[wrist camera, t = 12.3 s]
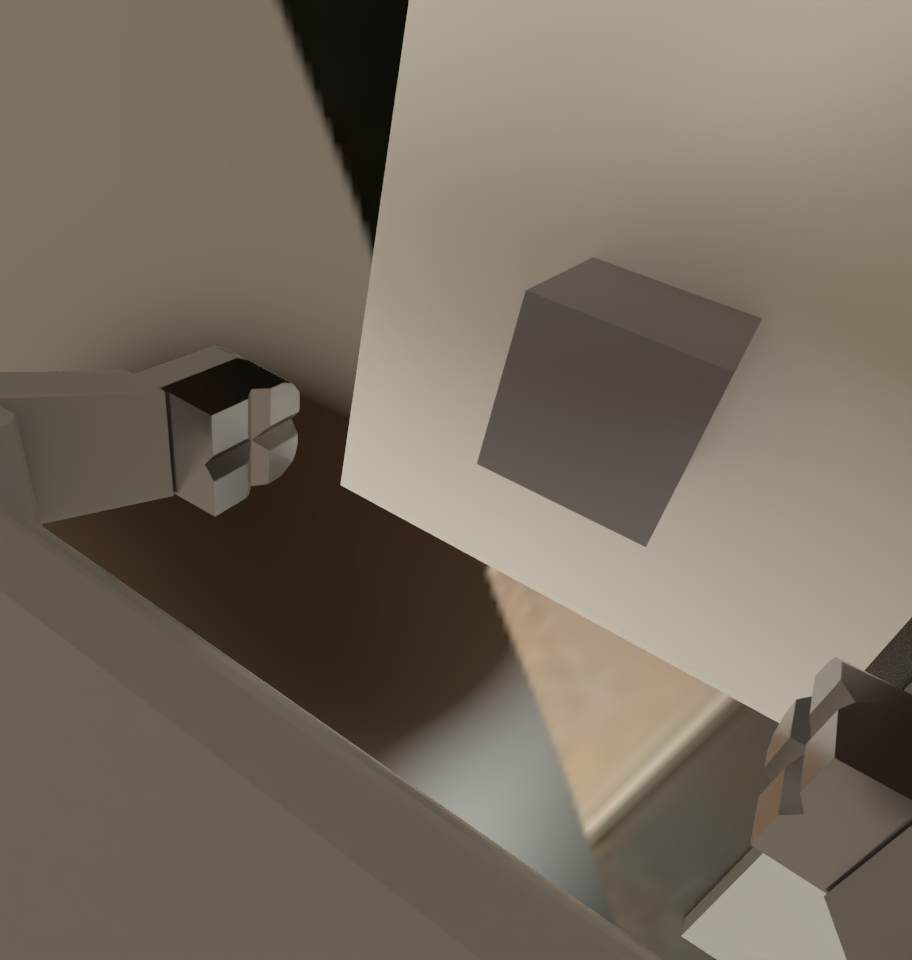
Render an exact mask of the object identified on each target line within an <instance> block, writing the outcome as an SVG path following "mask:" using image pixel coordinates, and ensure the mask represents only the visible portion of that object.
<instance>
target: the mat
mask: <svg viewBox="0 0 912 960" xmlns="http://www.w3.org/2000/svg"><path fill="white" fill-rule="evenodd" d="M904 691H906V692H908V693H910V694H912V682H911V683H910V684H909V685H908V686H907V687H906V688H905V689H904ZM825 895H826V893H825V892H823V891H821V890H820V889H818V888H817V887H815V886H814V885H812V884H811V883H809V882H807V881H806V880H804V879H803V878H801V877H800V876H798V875H797V874H795V873H793V872H792V871H790V870H789V869H787V868H786V867H784V866H783V865H781V864H779V863H778V862H776V861H775V860H773V859H772V858H770V857H769V856H767V855H766V854H764V853H762V852H761V851H759V850H758V849H756V848H755V847H752V849H751V850H750V851H749V852H748V853H747V854H746V855H745V856H744V857H743V858H742V859H741V860H740V861H739V862H738V863H737V864H736V865H735V866H734V867H733V868H732V869H731V870H730V871H729V872H728V873H727V875H726V876H725V877H724V878H723V879H722V880H721V881H720V882H719V883H718V884H717V885H716V886H715V887H714V888H713V889H712V890H711V891H710V892H709V893H708V894H707V895H706V896H705V897H704V898H703V900H702V901H701V902H700V903H699V904H698V905H697V906H696V907H695V908H694V909H693V910H692V911H691V912H690V913H689V914H688V915H687V916H686V917H685V921H684V925H683V930H682V934H681V936H682V937H684V938H685V939H687V940H688V941H690V942H691V943H693V944H694V945H696V946H697V947H699V948H700V949H702V950H703V951H705V952H706V953H708V954H709V955H711V956H712V957H714V958H715V959H717V960H846V957H845V954H844V951H843V948H842V946H841V943H840V940H839V937H838V934H837V932H836V929H835V926H834V923H833V921H832V918H831V915H830V912H829V909H828V907H827V904H826V901H825V898H824V896H825Z"/></svg>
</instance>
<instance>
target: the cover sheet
mask: <svg viewBox="0 0 912 960" xmlns="http://www.w3.org/2000/svg"><path fill="white" fill-rule="evenodd" d="M341 486H343V487H345V488H347V489H349V490H351V491H352V492H354V493H356V494H358V495H360V496H362V497H364V498H366V499H367V500H369V501H371V502H373V503H375V504H377V505H378V506H380V507H382V508H384V509H386V510H388V511H389V512H391V513H393V514H395V515H397V516H399V517H400V518H402V519H404V520H406V521H408V522H410V523H411V524H413V525H415V526H417V527H419V528H421V529H423V530H424V531H426V532H428V533H430V534H432V535H434V536H435V537H437V538H439V539H441V540H443V541H445V542H447V543H449V544H450V545H452V546H454V547H456V548H457V549H460V550H461V551H463V552H465V553H467V554H469V555H470V556H472V557H474V558H476V559H478V560H480V561H481V562H483V563H485V564H487V565H489V566H491V567H492V568H494V569H496V570H498V571H500V572H502V573H504V574H505V575H507V576H509V577H511V578H513V579H515V580H516V581H518V582H520V583H522V584H524V585H526V586H527V587H529V588H531V589H533V590H535V591H537V592H539V593H540V594H542V595H544V596H546V597H548V598H550V599H551V600H553V601H555V602H557V603H559V604H561V605H562V606H564V607H566V608H568V609H570V610H572V611H574V612H575V613H577V614H579V615H581V616H583V617H585V618H586V619H588V620H590V621H592V622H594V623H596V624H598V625H599V626H601V627H603V628H605V629H607V630H609V631H610V632H612V633H614V634H616V635H618V636H620V637H621V638H623V639H625V640H627V641H629V642H631V643H633V644H634V645H636V646H638V647H640V648H642V649H644V650H645V651H647V652H649V653H651V654H653V655H655V656H656V657H658V658H660V659H662V660H664V661H666V662H668V663H669V664H671V665H673V666H675V667H677V668H679V669H680V670H682V671H684V672H686V673H688V674H690V675H691V676H693V677H695V678H697V679H699V680H701V681H703V682H704V683H706V684H708V685H710V686H712V687H714V688H715V689H717V690H719V691H721V692H723V693H725V694H726V695H728V696H730V697H732V698H734V699H736V700H738V701H739V702H741V703H743V704H745V705H747V706H749V707H750V708H752V709H754V710H756V711H758V712H760V713H761V714H763V715H765V716H767V717H769V718H771V719H773V720H774V721H776V722H778V723H780V721H781V720H782V718H783V716H784V715H785V713H786V712H787V711H788V710H789V708H790V707H791V706H792V704H793V703H794V702H795V700H796V699H801V698H806V697H811V696H812V693H813V686H814V679H815V676H816V675H817V674H818V673H819V671H820V670H821V669H822V668H823V667H824V666H825V664H826V663H828V662H829V661H830V660H832V659H833V658H835V657H837V658H839V659H841V660H843V661H845V662H847V663H849V664H851V665H853V666H855V667H857V668H859V669H861V670H863V671H864V670H865V669H866V668H867V667H868V666H869V665H870V664H871V662H872V661H873V660H874V659H875V658H876V657H877V656H878V654H879V653H880V652H881V651H882V650H883V649H884V648H885V647H886V645H887V644H888V643H889V642H890V641H891V640H892V639H893V638H894V636H895V635H896V634H897V633H898V632H899V631H900V630H901V628H902V627H903V626H904V625H905V624H906V623H907V622H908V621H909V619H910V618H911V617H912V0H409V4H408V11H407V18H406V25H405V32H404V39H403V46H402V54H401V61H400V68H399V75H398V82H397V89H396V96H395V103H394V110H393V117H392V124H391V131H390V139H389V146H388V153H387V160H386V167H385V174H384V181H383V188H382V195H381V202H380V209H379V216H378V223H377V231H376V238H375V245H374V252H373V259H372V266H371V273H370V280H369V287H368V294H367V301H366V308H365V316H364V323H363V330H362V337H361V344H360V352H359V358H358V365H357V372H356V379H355V386H354V394H353V400H352V407H351V415H350V422H349V429H348V436H347V443H346V450H345V457H344V464H343V471H342V478H341Z"/></svg>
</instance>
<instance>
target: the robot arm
mask: <svg viewBox="0 0 912 960" xmlns="http://www.w3.org/2000/svg"><path fill="white" fill-rule="evenodd" d="M298 411H299V391H298V390H297V388H296V387H295V386H294V385H293V384H292V383H290V382H289V381H287V380H285V379H283V378H281V377H279V376H277V375H275V374H273V373H272V372H270V371H268V370H266V369H264V368H262V367H260V366H258V365H257V364H255V363H253V362H251V361H249V360H247V359H244V358H243V357H241V356H239V355H237V354H235V353H233V352H231V351H229V350H227V349H225V348H221V347H216V346H213V347H210V348H207V349H204V350H201V351H199V352H196V353H193V354H190V355H187V356H184V357H182V358H179V359H176V360H173V361H170V362H168V363H165V364H162V365H159V366H156V367H153V368H151V369H148V370H145V371H142V372H139V373H136V374H132V373H130V372H128V371H69V372H68V371H66V372H65V371H61V372H0V960H663V959H661V958H660V957H658V956H657V955H656V954H654V953H653V952H651V951H650V950H648V949H647V948H646V947H644V946H643V945H641V944H640V943H638V942H637V941H636V940H634V939H633V938H631V937H630V936H628V935H627V934H626V933H624V932H623V931H621V930H620V929H618V928H617V927H616V926H614V925H613V924H611V923H610V922H608V921H607V920H605V919H604V918H603V917H601V916H600V915H598V914H597V913H595V912H594V911H592V910H591V909H590V908H588V907H587V906H585V905H584V904H582V903H581V902H579V901H578V900H577V899H575V898H574V897H572V896H571V895H570V894H568V893H567V892H565V891H564V890H562V889H561V888H559V887H558V886H557V885H555V884H554V883H552V882H551V881H549V880H548V879H547V878H545V877H544V876H542V875H541V874H539V873H538V872H536V871H535V870H534V869H532V868H531V867H529V866H528V865H526V864H525V863H524V862H522V861H521V860H519V859H518V858H516V857H515V856H514V855H512V854H510V853H509V852H508V851H506V850H505V849H503V848H502V847H501V846H499V845H498V844H496V843H495V842H493V841H492V840H490V839H489V838H488V837H486V836H485V835H483V834H482V833H480V832H479V831H478V830H476V829H475V828H473V827H472V826H470V825H469V824H467V823H466V822H464V821H463V820H462V819H460V818H459V817H457V816H456V815H455V814H453V813H452V812H450V811H449V810H447V809H446V808H445V807H443V806H442V805H440V804H439V803H437V802H436V801H434V800H433V799H431V798H430V797H429V796H427V795H426V794H424V793H423V792H421V791H420V790H419V789H417V788H416V787H414V786H413V785H411V784H410V783H409V782H407V781H406V780H404V779H403V778H401V777H400V776H399V775H397V774H396V773H394V772H393V771H391V770H390V769H389V768H387V767H385V766H384V765H383V764H381V763H380V762H378V761H377V760H376V759H374V758H373V757H371V756H370V755H368V754H367V753H366V752H364V751H363V750H361V749H360V748H358V747H357V746H355V745H354V744H353V743H351V742H350V741H348V740H347V739H345V738H344V737H343V736H341V735H340V734H338V733H337V732H335V731H334V730H332V729H331V728H330V727H328V726H326V725H325V724H324V723H322V722H321V721H319V720H318V719H317V718H315V717H314V716H312V715H311V714H310V713H308V712H307V711H305V710H304V709H302V708H301V707H300V706H298V705H297V704H295V703H294V702H293V701H291V700H290V699H288V698H287V697H285V696H284V695H283V694H281V693H280V692H278V691H277V690H275V689H274V688H273V687H271V686H270V685H268V684H267V683H265V682H264V681H263V680H261V679H260V678H258V677H257V676H255V675H254V674H252V673H251V672H250V671H248V670H247V669H245V668H244V667H243V666H241V665H239V664H238V663H237V662H235V661H234V660H232V659H231V658H230V657H228V656H226V655H225V654H224V653H223V652H221V651H220V650H218V649H217V648H215V647H214V646H213V645H211V644H210V643H208V642H207V641H205V640H204V639H203V638H201V637H200V636H198V635H197V634H195V633H194V632H193V631H191V630H190V629H188V628H187V627H185V626H184V625H183V624H181V623H180V622H178V621H177V620H175V619H174V618H172V617H171V616H170V615H168V614H167V613H165V612H164V611H162V610H161V609H160V608H158V607H157V606H155V605H154V604H152V603H151V602H150V601H148V600H147V599H145V598H144V597H142V596H141V595H139V594H138V593H137V592H135V591H134V590H132V589H131V588H130V587H128V586H127V585H125V584H124V583H122V582H121V581H119V580H118V579H117V578H115V577H114V576H112V575H111V574H109V573H108V572H106V571H105V570H104V569H102V568H101V567H99V566H98V565H97V564H95V563H94V562H92V561H91V560H89V559H88V558H86V557H85V556H84V555H82V554H81V553H79V552H78V551H77V550H75V549H73V548H72V547H71V546H69V545H68V544H66V543H65V542H64V541H62V540H60V539H59V538H58V537H56V536H55V535H54V534H52V533H51V532H49V531H48V530H46V529H45V528H43V527H42V524H44V523H48V522H53V521H58V520H62V519H67V518H72V517H76V516H80V515H86V514H90V513H95V512H99V511H104V510H109V509H114V508H118V507H123V506H127V505H132V504H137V503H142V502H146V501H151V500H156V499H160V498H165V497H169V496H173V493H175V494H176V495H178V496H180V497H182V498H183V499H185V500H187V501H189V502H191V503H192V504H194V505H196V506H198V507H199V508H201V509H203V510H205V511H206V512H208V513H210V514H212V515H213V516H217V515H218V514H220V513H222V512H223V511H225V510H227V509H228V508H230V507H231V506H233V505H235V504H236V503H238V502H240V501H241V500H243V499H244V498H246V497H247V496H248V493H249V490H250V486H254V485H263V484H269V483H270V482H272V481H273V480H275V479H276V478H278V477H280V476H281V475H282V474H283V472H284V471H285V470H286V469H287V467H288V466H289V465H290V463H291V462H292V461H293V457H294V455H295V452H296V449H297V439H298V434H297V432H296V429H295V427H294V424H293V422H292V420H291V418H292V417H293V416H294V415H295V414H296V413H297V412H298ZM764 768H765V770H766V772H767V774H768V776H769V778H770V781H771V784H770V785H769V786H768V787H767V789H766V790H765V791H764V792H763V793H762V794H761V795H760V796H759V799H758V805H757V810H756V816H755V822H754V827H753V833H752V839H751V844H750V845H752V846H753V847H755V848H756V849H758V850H759V851H761V852H762V853H764V854H766V855H767V856H769V857H770V858H772V859H773V860H775V861H776V862H778V863H779V864H781V865H783V866H784V867H786V868H787V869H789V870H790V871H792V872H793V873H795V874H797V875H798V876H800V877H801V878H803V879H804V880H806V881H807V882H809V883H811V884H812V885H814V886H815V887H817V888H818V889H820V890H821V891H823V892H825V893H826V895H825V896H824V898H825V901H826V904H827V907H828V909H829V912H830V915H831V918H832V921H833V923H834V926H835V929H836V932H837V934H838V937H839V940H840V943H841V946H842V948H843V951H844V954H845V957H846V960H912V694H910V693H908V692H906V691H904V690H902V689H900V688H898V687H896V686H894V685H892V684H890V683H888V682H886V681H884V680H881V679H879V678H877V677H875V676H873V675H871V674H869V673H867V672H865V671H863V670H861V669H859V668H857V667H855V666H853V665H851V664H849V663H847V662H845V661H843V660H841V659H839V658H837V657H835V658H833V659H832V660H830V661H829V662H828V663H826V664H825V666H824V667H823V668H822V669H821V670H820V671H819V673H818V674H817V675H816V676H815V679H814V686H813V693H812V696H811V697H806V698H801V699H796V700H795V702H794V703H793V704H792V706H791V707H790V708H789V710H788V711H787V712H786V713H785V715H784V716H783V718H782V720H781V721H780V723H779V725H778V727H777V729H776V731H775V733H774V735H773V737H772V740H771V743H770V746H769V749H768V753H767V758H766V762H765V767H764Z"/></svg>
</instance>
